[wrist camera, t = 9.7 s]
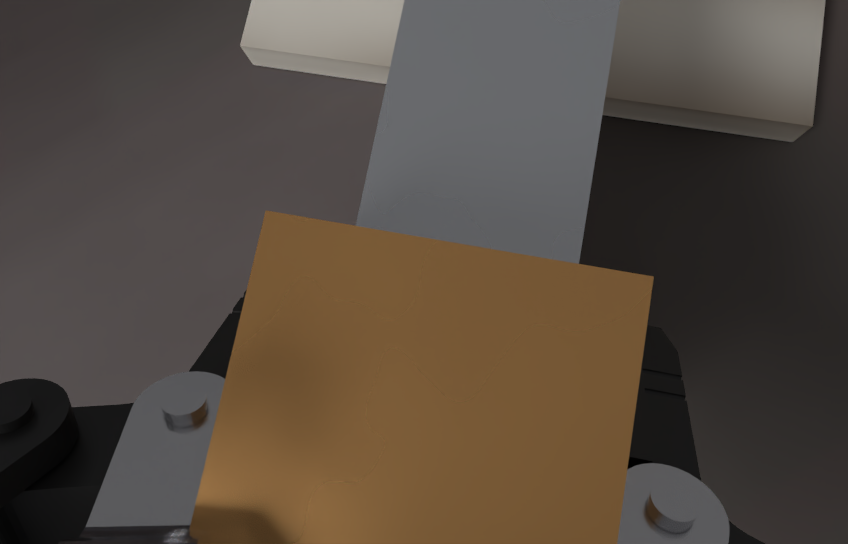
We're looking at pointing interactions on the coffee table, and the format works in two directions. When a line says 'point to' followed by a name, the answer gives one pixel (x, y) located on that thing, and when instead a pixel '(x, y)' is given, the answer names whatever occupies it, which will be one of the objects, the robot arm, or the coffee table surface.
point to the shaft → (444, 312)
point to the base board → (630, 63)
